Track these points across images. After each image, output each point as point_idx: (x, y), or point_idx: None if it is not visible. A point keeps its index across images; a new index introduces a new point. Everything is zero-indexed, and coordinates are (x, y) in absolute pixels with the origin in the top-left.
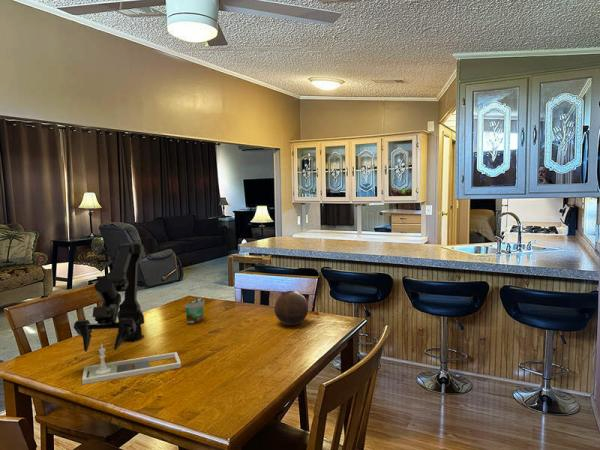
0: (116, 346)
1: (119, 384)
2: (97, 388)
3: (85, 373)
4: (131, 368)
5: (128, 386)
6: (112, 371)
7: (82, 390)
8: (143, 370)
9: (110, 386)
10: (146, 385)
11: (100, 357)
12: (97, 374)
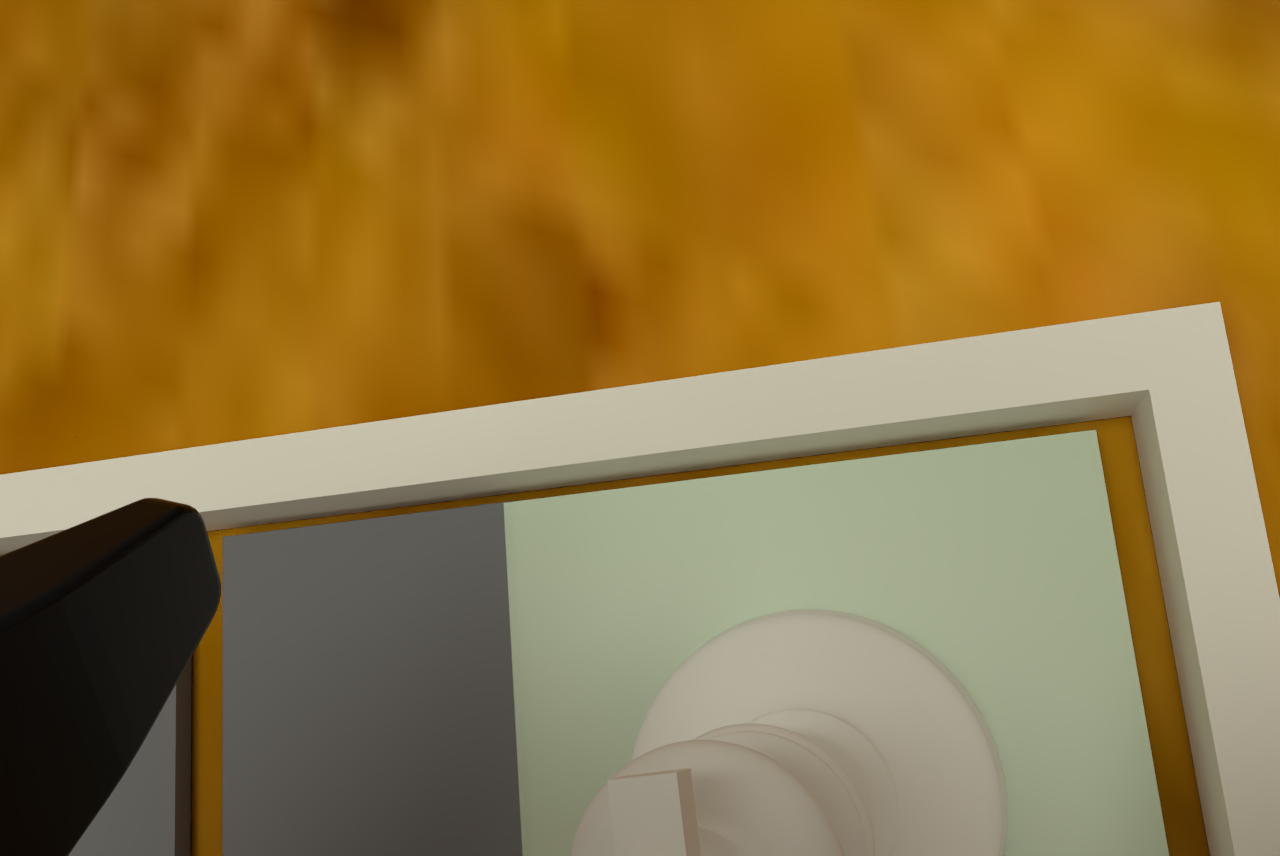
0: (57, 544)
1: (454, 150)
2: (830, 75)
3: (1236, 694)
4: (231, 812)
5: (312, 36)
6: None
7: (1116, 51)
8: (5, 476)
9: (602, 105)
10: (60, 11)
11: (804, 744)
12: (924, 661)
